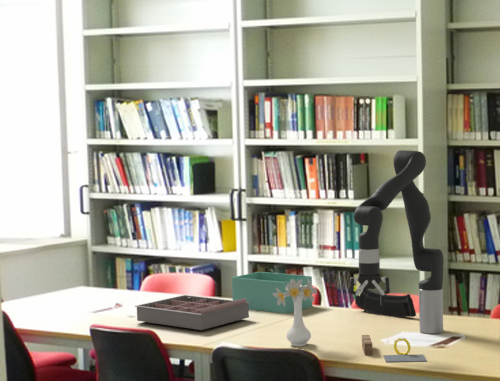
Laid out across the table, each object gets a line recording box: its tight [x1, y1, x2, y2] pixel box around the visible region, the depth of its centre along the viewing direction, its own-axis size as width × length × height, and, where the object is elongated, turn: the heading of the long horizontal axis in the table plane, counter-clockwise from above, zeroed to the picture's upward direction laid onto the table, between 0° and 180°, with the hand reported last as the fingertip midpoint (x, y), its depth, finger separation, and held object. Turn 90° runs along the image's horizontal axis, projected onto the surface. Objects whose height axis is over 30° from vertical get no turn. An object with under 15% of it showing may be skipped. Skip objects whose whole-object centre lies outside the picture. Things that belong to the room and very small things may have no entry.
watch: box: [393, 336, 412, 355], centre depth 311 cm, size 6×3×6 cm, turn 52°
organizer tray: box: [134, 294, 250, 331], centre depth 381 cm, size 32×40×10 cm
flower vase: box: [272, 279, 318, 347], centre depth 330 cm, size 13×18×25 cm
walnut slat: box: [361, 334, 374, 356], centre depth 318 cm, size 14×3×4 cm, turn 177°
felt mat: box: [383, 353, 428, 363], centre depth 304 cm, size 9×14×1 cm, turn 87°
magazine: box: [356, 289, 417, 318], centre depth 383 cm, size 17×3×30 cm
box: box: [231, 271, 313, 315], centre depth 411 cm, size 21×32×14 cm, turn 50°
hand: (369, 305), depth 316 cm, fingers open, 8 cm apart
